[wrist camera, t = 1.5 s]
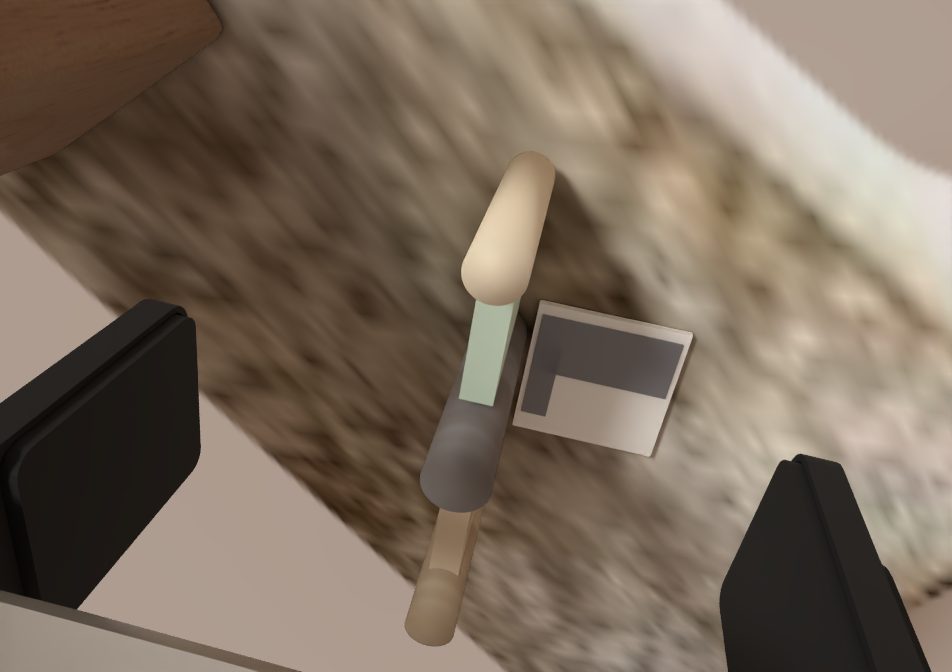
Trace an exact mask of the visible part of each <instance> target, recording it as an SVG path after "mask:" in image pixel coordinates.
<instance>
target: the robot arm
mask: <svg viewBox="0 0 952 672" xmlns="http://www.w3.org/2000/svg"><path fill="white" fill-rule="evenodd" d="M200 450H201V443H200V420H199V394H198V369H197V345H196V326H195V322H194V320H193V319H192V318H189V317H187V313H186V311H185V309H184V308H183V307H181V306H177V305H173V304H169V303H165V302H160V301H156V300H152V299H145V300H143V301H141V302H139V303H138V304H137V305H135V306H134V307H133V308H131V309H130V310H128V311H127V312H126V313H124V314H123V315H121V316H120V317H119V318H117V319H116V320H115V321H113V322H112V323H110V324H109V325H108V326H106V327H105V328H104V329H102V330H101V331H99V332H98V333H97V334H95V335H94V336H92V337H91V338H90V339H88V340H87V341H86V342H84V343H83V344H81V345H80V346H79V347H77V348H76V349H75V350H73V351H72V352H70V353H69V354H68V355H66V356H65V357H63V358H62V359H61V360H59V361H58V362H57V363H55V364H54V365H53V366H51V367H50V368H48V369H47V370H45V371H44V372H43V373H41V374H40V375H39V376H37V377H36V378H35V379H33V380H32V381H31V382H29V383H28V384H26V385H25V386H23V387H22V388H21V389H19V390H18V391H16V392H15V393H14V394H12V395H11V396H10V397H8V398H7V399H5V400H4V401H3V402H1V403H0V672H301V671H297V670H293V669H290V668H286V667H283V666H279V665H276V664H272V663H269V662H265V661H261V660H258V659H254V658H251V657H247V656H243V655H239V654H236V653H233V652H229V651H225V650H222V649H218V648H214V647H211V646H207V645H203V644H199V643H196V642H192V641H189V640H185V639H181V638H178V637H174V636H170V635H167V634H163V633H160V632H156V631H152V630H149V629H145V628H141V627H138V626H134V625H131V624H127V623H123V622H119V621H116V620H112V619H109V618H105V617H101V616H98V615H94V614H90V613H87V612H83V611H79V610H77V608H78V607H79V606H80V605H81V604H82V603H83V601H84V600H85V599H86V598H87V597H88V595H89V594H90V593H91V592H92V591H93V589H94V588H95V587H96V586H97V585H98V584H99V582H100V581H101V580H102V579H103V577H104V576H105V575H106V574H107V573H108V572H109V570H110V569H111V568H112V567H113V566H114V564H115V563H116V562H117V561H118V560H119V558H120V557H121V556H122V555H123V554H124V552H125V551H126V550H127V549H128V548H129V546H130V545H131V544H132V543H133V542H134V540H135V539H136V538H137V537H138V535H140V533H141V532H142V531H143V530H144V529H145V527H146V526H147V525H148V524H149V523H150V521H151V520H152V519H153V518H154V517H155V515H156V514H157V513H158V512H159V511H160V509H161V508H162V507H163V506H164V505H165V503H166V502H167V501H168V500H169V499H170V498H171V496H172V495H173V494H174V493H175V492H176V490H177V489H178V488H179V487H180V486H181V484H182V483H183V482H184V481H185V480H186V478H187V477H188V476H189V475H190V474H191V472H192V471H193V470H194V468H195V466H196V464H197V462H198V459H199V456H200ZM719 604H720V614H721V621H722V629H723V636H724V644H725V652H726V659H727V667H728V672H931V670H930V667H929V665H928V663H927V660H926V658H925V656H924V653H923V650H922V648H921V645H920V643H919V641H918V638H917V636H916V634H915V631H914V628H913V626H912V624H911V621H910V619H909V616H908V614H907V611H906V609H905V607H904V604H903V602H902V599H901V597H900V594H899V592H898V590H897V587H896V585H895V582H894V580H893V577H892V576H891V574H890V572H889V571H888V569H887V568H886V567H885V566H883V565H882V564H881V561H880V559H879V557H878V554H877V552H876V549H875V547H874V544H873V542H872V539H871V537H870V534H869V532H868V529H867V527H866V524H865V522H864V519H863V517H862V514H861V512H860V509H859V507H858V504H857V502H856V499H855V497H854V494H853V492H852V489H851V487H850V485H849V482H848V480H847V477H846V475H845V472H844V470H843V468H842V466H841V464H839V463H837V462H833V461H829V460H825V459H820V458H816V457H812V456H808V455H804V454H798V455H796V456H795V457H794V458H793V460H792V461H787V460H782V461H781V462H780V463H779V465H778V466H777V468H776V470H775V472H774V475H773V477H772V479H771V481H770V483H769V485H768V487H767V490H766V492H765V494H764V496H763V498H762V500H761V502H760V505H759V507H758V509H757V511H756V513H755V515H754V517H753V520H752V522H751V524H750V526H749V528H748V530H747V532H746V534H745V537H744V539H743V541H742V543H741V545H740V547H739V549H738V552H737V554H736V556H735V558H734V560H733V562H732V564H731V567H730V569H729V571H728V573H727V575H726V577H725V579H724V582H723V584H722V588H721V592H720V603H719Z"/></svg>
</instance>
